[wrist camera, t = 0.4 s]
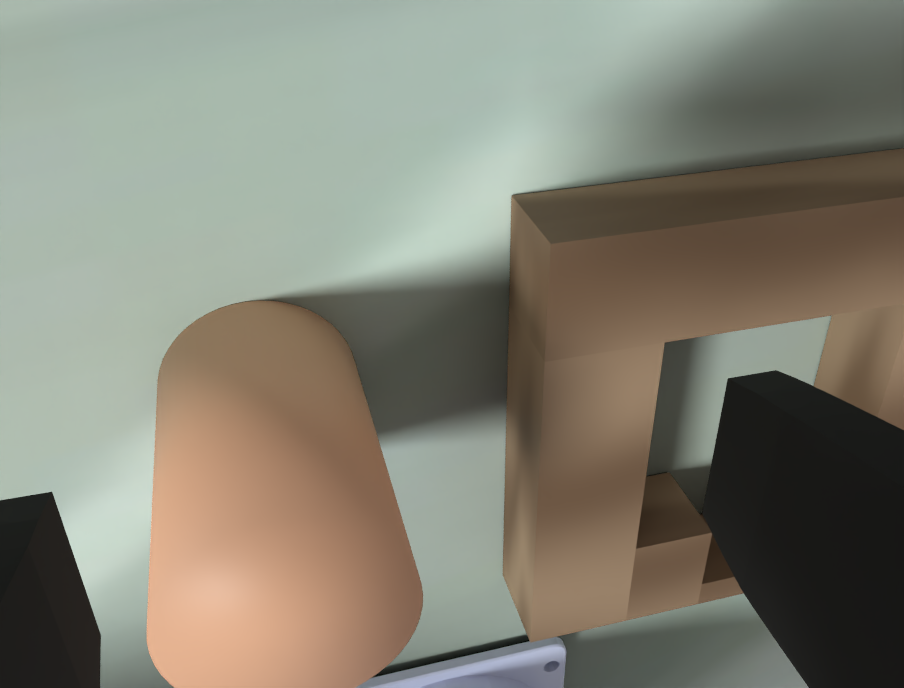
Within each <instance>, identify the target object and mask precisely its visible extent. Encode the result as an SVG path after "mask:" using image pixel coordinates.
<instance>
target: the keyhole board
mask: <svg viewBox="0 0 904 688" xmlns="http://www.w3.org/2000/svg"><path fill="white" fill-rule="evenodd" d="M831 315H832V317H831V321H830V325H829V329H828V333H827V337H826V340H825V344H824V348H823V352H822V356H821V360H820V364H819V367H818V371H817V375H816V379H815V383H814V387H816V388H818V389H820V390H823V391H825V392H827V393H829V394H831V395H833V396H835V397H837V398H839V399H841V400H843V401H846V402H848V403H850V404H852V405H854V406H856V407H858V408H860V409H862V410H864V411H866V412H868V413H870V414H872V415H874V416H876V417H878V418H880V419H882V420H884V421H886V422H888V423H890V424H892V425H894V426H896V427H898V428H900V429H902V430H904V148H902V149H894V150H885V151H877V152H869V153H860V154H852V155H844V156H835V157H827V158H819V159H810V160H802V161H794V162H786V163H777V164H769V165H761V166H752V167H744V168H736V169H727V170H719V171H711V172H702V173H694V174H686V175H677V176H669V177H661V178H653V179H644V180H636V181H628V182H619V183H611V184H603V185H594V186H586V187H578V188H569V189H561V190H553V191H545V192H536V193H528V194H520V195H512V199H511V242H510V285H509V328H508V371H507V415H506V458H505V501H504V544H503V576H504V579H505V581H506V584H507V586H508V589H509V591H510V594H511V596H512V599H513V601H514V604H515V606H516V608H517V611H518V613H519V616H520V618H521V621H522V623H523V626H524V628H525V631H526V633H527V635H528V638H529V640H530V643H531V642H536V641H540V640H544V639H548V638H553V637H557V636H561V635H566V634H570V633H574V632H579V631H583V630H587V629H592V628H596V627H600V626H605V625H609V624H613V623H617V622H622V621H626V620H630V619H635V618H639V617H643V616H648V615H652V614H656V613H661V612H665V611H669V610H673V609H678V608H682V607H686V606H691V605H695V604H699V603H704V602H708V601H712V600H717V599H721V598H725V597H730V596H734V595H738V594H742V593H743V591H742V590H741V588H740V586H739V584H738V582H737V581H736V579H735V577H734V575H733V573H732V571H731V569H730V568H729V566H728V564H727V562H726V560H725V558H724V556H723V555H722V553H721V551H720V549H719V546H718V544H717V542H716V540H715V538H714V536H713V534H712V532H711V530H710V528H709V526H708V524H707V522H706V520H705V518H704V516H703V514H699V513H698V512H697V510H696V509H695V507H694V506H693V505H692V503H691V502H690V500H689V499H688V498H687V496H686V495H685V493H684V492H683V491H682V489H681V488H680V486H679V485H678V484H677V482H676V481H675V479H674V478H673V477H672V475H671V474H670V472H668V473H663V474H658V475H653V476H647V477H646V473H647V466H648V459H649V452H650V444H651V437H652V430H653V423H654V416H655V409H656V402H657V394H658V387H659V380H660V373H661V366H662V359H663V351H664V344H665V342H671V341H677V340H683V339H689V338H695V337H702V336H708V335H714V334H720V333H726V332H732V331H738V330H745V329H751V328H757V327H763V326H769V325H775V324H781V323H788V322H794V321H800V320H806V319H812V318H818V317H824V316H831Z"/></svg>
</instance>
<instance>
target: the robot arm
mask: <svg viewBox="0 0 904 688" xmlns="http://www.w3.org/2000/svg"><path fill="white" fill-rule="evenodd" d="M702 514H703V516H704V518H705V520H706V522H707V524H708V526H709V528H710V530H711V532H712V534H713V536H714V538H715V540H716V542H717V544H718V546H719V549H720V551H721V553H722V555H723V556H724V558H725V560H726V562H727V564H728V566H729V568H730V569H731V571H732V573H733V575H734V577H735V579H736V581H737V582H738V584H739V586H740V588H741V590H742V591H743V593H744V594H745V596H746V597H747V599H748V600H749V602H750V603H751V605H752V606H753V608H754V609H755V611H756V612H757V614H758V615H759V617H760V618H761V619H762V621H763V622H764V624H765V625H766V627H767V628H768V630H769V631H770V633H771V634H772V635H773V637H774V638H775V640H776V641H777V643H778V644H779V646H780V647H781V649H782V650H783V651H784V653H785V654H786V656H787V657H788V659H789V660H790V661H791V663H792V664H793V666H794V667H795V668H796V670H797V671H798V673H799V674H800V676H801V677H802V678H803V680H804V681H805V683H806V684H807V686H808V687H809V688H904V430H902V429H900V428H898V427H896V426H894V425H892V424H890V423H888V422H886V421H884V420H882V419H880V418H878V417H876V416H874V415H872V414H870V413H868V412H866V411H864V410H862V409H860V408H858V407H856V406H854V405H852V404H850V403H848V402H846V401H843V400H841V399H839V398H837V397H835V396H833V395H831V394H829V393H827V392H825V391H823V390H820V389H818V388H816V387H814V386H812V385H810V384H807V383H805V382H803V381H801V380H798V379H796V378H794V377H791V376H789V375H786V374H784V373H781V372H779V371H776V370H775V371H769V372H764V373H758V374H752V375H746V376H740V377H734V378H728V381H727V386H726V391H725V397H724V402H723V407H722V412H721V417H720V423H719V428H718V433H717V438H716V444H715V449H714V454H713V459H712V464H711V470H710V475H709V480H708V485H707V490H706V496H705V501H704V506H703V511H702ZM100 646H101V634H100V632H99V629H98V626H97V623H96V620H95V617H94V614H93V611H92V608H91V605H90V602H89V599H88V596H87V593H86V590H85V587H84V585H83V582H82V579H81V576H80V573H79V570H78V567H77V564H76V561H75V558H74V555H73V552H72V549H71V546H70V543H69V540H68V538H67V535H66V532H65V529H64V526H63V523H62V520H61V517H60V514H59V511H58V508H57V505H56V502H55V499H54V496H53V493H52V492H48V493H42V494H36V495H30V496H24V497H18V498H12V499H6V500H1V501H0V688H100ZM566 652H567V651H566V647H565V645H564V643H563V641H562V640H561V639H560V638H559V637H553V638H548V639H544V640H540V641H536V642H531V643H530V641H528V642H524V643H520V644H516V645H511V646H507V647H503V648H498V649H494V650H490V651H485V652H481V653H477V654H472V655H468V656H464V657H459V658H455V659H451V660H446V661H442V662H438V663H433V664H429V665H425V666H420V667H416V668H412V669H408V670H403V671H399V672H395V673H390V674H386V675H382V676H377V677H373V678H370V679H369V680H367V681H366V682H364V683H362V684H361V685H359V686H357V687H355V688H563V687H564V675H565V664H566Z"/></svg>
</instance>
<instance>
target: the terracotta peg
mask: <svg viewBox="0 0 904 688" xmlns="http://www.w3.org/2000/svg"><path fill="white" fill-rule="evenodd" d="M422 606H423V591H422V585H421V580H420V577H419V574H418V570H417V567H416V564H415V560H414V557H413V554H412V550H411V547H410V544H409V540H408V537H407V534H406V530H405V527H404V524H403V520H402V517H401V514H400V510H399V507H398V504H397V500H396V497H395V494H394V490H393V487H392V484H391V480H390V477H389V474H388V470H387V467H386V464H385V460H384V457H383V454H382V450H381V447H380V444H379V440H378V437H377V434H376V430H375V427H374V424H373V420H372V417H371V414H370V410H369V407H368V404H367V400H366V397H365V394H364V390H363V387H362V384H361V380H360V377H359V374H358V370H357V367H356V364H355V360H354V357H353V354H352V351H351V349H350V347H349V346H348V344H347V342H346V340H345V339H344V338H343V336H342V335H341V334H340V332H339V331H338V330H337V329H336V328H335V327H334V326H333V325H332V324H331V323H329V322H328V321H327V320H325V319H324V318H323V317H321V316H319V315H317V314H316V313H314V312H312V311H310V310H307V309H305V308H302V307H300V306H297V305H293V304H289V303H284V302H277V301H248V302H242V303H236V304H232V305H229V306H225V307H222V308H219V309H217V310H215V311H212V312H210V313H208V314H206V315H204V316H203V317H201V318H199V319H198V320H196V321H195V322H193V323H192V324H191V325H189V326H188V327H187V328H186V329H185V330H184V331H183V332H182V333H181V334H180V335H179V336H178V337H177V338H176V339H175V340H174V342H173V343H172V344H171V346H170V347H169V349H168V351H167V352H166V354H165V356H164V358H163V361H162V364H161V367H160V370H159V375H158V384H157V407H156V430H155V452H154V475H153V498H152V521H151V543H150V566H149V589H148V612H147V645H148V649H149V654H150V656H151V658H152V661H153V663H154V665H155V667H156V668H157V670H158V671H159V672H160V674H161V675H162V676H163V677H164V678H165V679H166V680H167V681H168V682H169V683H170V684H171V685H172V686H173V687H175V688H355V687H357V686H359V685H361V684H362V683H364V682H366V681H367V680H369V679H370V678H372V677H373V676H375V675H376V674H378V673H379V672H380V671H381V670H383V669H384V668H385V667H386V666H387V665H388V664H390V663H391V662H392V661H393V660H394V659H395V658H396V656H397V655H398V654H399V653H400V652H401V651H402V650H403V648H404V647H405V646H406V644H407V643H408V642H409V640H410V638H411V637H412V635H413V633H414V631H415V629H416V627H417V624H418V622H419V619H420V615H421V611H422Z"/></svg>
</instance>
